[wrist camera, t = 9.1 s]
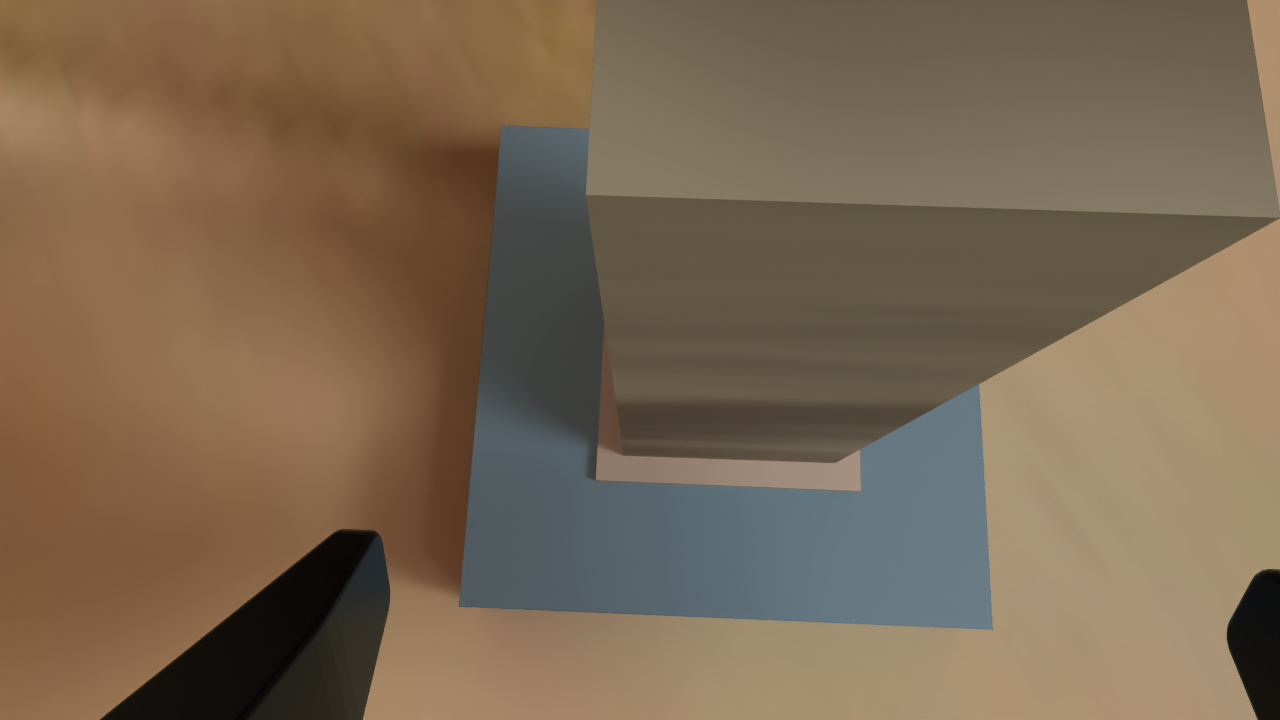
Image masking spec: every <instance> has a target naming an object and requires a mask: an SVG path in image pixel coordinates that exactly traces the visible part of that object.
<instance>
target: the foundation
mask: <svg viewBox="0 0 1280 720" xmlns="http://www.w3.org/2000/svg"><path fill="white" fill-rule="evenodd" d="M588 147H589V129H576V128H550V127H523V126H502V127H501V138H500V149H499V160H498V172H497V183H496V194H495V205H494V217H493V228H492V239H491V250H490V262H489V273H488V284H487V295H486V307H485V318H484V329H483V341H482V352H481V363H480V374H479V386H478V397H477V408H476V419H475V431H474V442H473V453H472V464H471V476H470V487H469V498H468V509H467V521H466V532H465V543H464V554H463V566H462V577H461V588H460V600H459V607H479V608H502V609H525V610H548V611H572V612H595V613H618V614H641V615H664V616H687V617H711V618H734V619H757V620H780V621H803V622H826V623H850V624H873V625H896V626H919V627H942V628H965V629H988V630H993V628H992V610H991V591H990V573H989V555H988V537H987V519H986V501H985V483H984V465H983V447H982V428H981V410H980V392H979V384H978V385H976V386H974V387H973V388H971V389H969V390H967V391H965V392H964V393H962V394H960V395H958V396H956V397H954V398H953V399H951V400H949V401H947V402H945V403H944V404H942V405H940V406H938V407H936V408H935V409H933V410H931V411H929V412H927V413H925V414H924V415H922V416H920V417H918V418H916V419H915V420H913V421H911V422H909V423H907V424H905V425H904V426H902V427H900V428H898V429H896V430H895V431H893V432H891V433H889V434H887V435H886V436H884V437H882V438H880V439H878V440H876V441H875V442H873V443H871V444H869V445H867V446H866V447H864V448H862V449H860V450H858V451H856V452H855V453H853V454H851V455H849V456H847V457H846V458H844V459H842V460H840V461H838V462H837V463H812V462H784V461H756V460H728V459H700V458H672V457H644V456H624V455H623V448H622V441H621V434H620V427H619V420H618V413H617V406H616V399H615V392H614V386H613V379H612V372H611V365H610V358H609V351H608V344H607V337H606V330H605V323H604V317H603V310H602V303H601V296H600V289H599V282H598V275H597V268H596V261H595V254H594V248H593V241H592V234H591V227H590V220H589V213H588V206H587V199H586V183H587V165H588Z"/></svg>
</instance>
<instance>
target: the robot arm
mask: <svg viewBox="0 0 1280 720" xmlns="http://www.w3.org/2000/svg"><path fill="white" fill-rule="evenodd" d="M389 604H390V585H389V579H388V573H387V567H386V561H385V555H384V549H383V543H382V539H381V537H380V535H379V534H378V533H377V532H375V531H373V530H356V529H341V530H338V531H336V532H334V533H333V534H331V535H330V536H329V537H327V538H326V539H325V540H324V541H322V542H321V543H320V544H319V545H317V546H316V547H315V548H314V549H312V550H311V551H310V552H309V553H307V554H306V555H305V556H304V557H302V558H301V559H300V560H299V561H297V562H296V563H295V564H294V565H292V566H291V567H290V568H289V569H287V570H286V571H285V572H284V573H282V574H281V575H280V576H279V577H277V578H276V579H275V580H274V581H272V582H271V583H270V584H269V585H267V586H266V587H265V588H264V589H262V590H261V591H260V592H259V593H257V594H256V595H255V596H254V597H252V598H251V599H250V600H249V601H247V602H246V603H245V604H244V605H242V606H241V607H240V608H239V609H237V610H236V611H235V612H234V613H232V614H231V615H230V616H229V617H227V618H226V619H225V620H224V621H222V622H221V623H220V624H219V625H217V626H216V627H215V628H214V629H212V630H211V631H210V632H209V633H207V634H206V635H205V636H204V637H202V638H201V639H200V640H199V641H197V642H196V643H195V644H194V645H192V646H191V647H190V648H189V649H187V650H186V651H185V652H184V653H182V654H181V655H180V656H179V657H177V658H176V659H175V660H174V661H172V662H171V663H170V664H169V665H167V666H166V667H165V668H164V669H162V670H161V671H160V672H159V673H157V674H156V675H155V676H154V677H152V678H151V679H150V680H149V681H147V682H146V683H145V684H144V685H142V686H141V687H140V688H139V689H137V690H136V691H135V692H134V693H132V694H131V695H130V696H129V697H127V698H126V699H125V700H124V701H122V702H121V703H120V704H119V705H117V706H116V707H115V708H114V709H112V710H111V711H110V712H109V713H107V714H106V715H105V716H104V717H102V718H101V719H100V720H363V716H364V712H365V708H366V703H367V699H368V695H369V691H370V686H371V682H372V678H373V674H374V670H375V665H376V661H377V657H378V653H379V649H380V644H381V640H382V636H383V632H384V627H385V623H386V619H387V615H388V610H389ZM1227 642H1228V647H1229V650H1230V653H1231V655H1232V658H1233V660H1234V663H1235V665H1236V668H1237V670H1238V673H1239V675H1240V678H1241V680H1242V682H1243V685H1244V687H1245V690H1246V692H1247V695H1248V697H1249V700H1250V702H1251V705H1252V707H1253V710H1254V712H1255V714H1256V717H1257V719H1258V720H1280V569H1266V570H1262V571H1261V572H1259V573H1258V574H1256V575H1255V576H1254V577H1253V579H1252V580H1251V582H1250V584H1249V586H1248V588H1247V590H1246V592H1245V593H1244V595H1243V597H1242V599H1241V601H1240V603H1239V604H1238V606H1237V608H1236V610H1235V612H1234V614H1233V616H1232V617H1231V619H1230V621H1229V624H1228V627H1227Z"/></svg>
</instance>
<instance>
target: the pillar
mask: <svg viewBox="0 0 1280 720" xmlns="http://www.w3.org/2000/svg"><path fill="white" fill-rule="evenodd" d="M586 199H587V206H588V213H589V220H590V227H591V234H592V241H593V248H594V254H595V261H596V268H597V275H598V282H599V289H600V296H601V303H602V310H603V317H604V323H605V330H606V337H607V344H608V351H609V358H610V365H611V372H612V379H613V386H614V392H615V399H616V406H617V413H618V420H619V427H620V434H621V441H622V448H623V455H624V456H644V457H672V458H700V459H728V460H756V461H784V462H812V463H837V462H838V461H840V460H842V459H844V458H846V457H847V456H849V455H851V454H853V453H855V452H856V451H858V450H860V449H862V448H864V447H866V446H867V445H869V444H871V443H873V442H875V441H876V440H878V439H880V438H882V437H884V436H886V435H887V434H889V433H891V432H893V431H895V430H896V429H898V428H900V427H902V426H904V425H905V424H907V423H909V422H911V421H913V420H915V419H916V418H918V417H920V416H922V415H924V414H925V413H927V412H929V411H931V410H933V409H935V408H936V407H938V406H940V405H942V404H944V403H945V402H947V401H949V400H951V399H953V398H954V397H956V396H958V395H960V394H962V393H964V392H965V391H967V390H969V389H971V388H973V387H974V386H976V385H978V384H980V383H982V382H984V381H985V380H987V379H989V378H991V377H993V376H994V375H996V374H998V373H1000V372H1002V371H1004V370H1005V369H1007V368H1009V367H1011V366H1013V365H1014V364H1016V363H1018V362H1020V361H1022V360H1023V359H1025V358H1027V357H1029V356H1031V355H1033V354H1034V353H1036V352H1038V351H1040V350H1042V349H1043V348H1045V347H1047V346H1049V345H1051V344H1053V343H1054V342H1056V341H1058V340H1060V339H1062V338H1063V337H1065V336H1067V335H1069V334H1071V333H1072V332H1074V331H1076V330H1078V329H1080V328H1082V327H1083V326H1085V325H1087V324H1089V323H1091V322H1092V321H1094V320H1096V319H1098V318H1100V317H1102V316H1103V315H1105V314H1107V313H1109V312H1111V311H1112V310H1114V309H1116V308H1118V307H1120V306H1121V305H1123V304H1125V303H1127V302H1129V301H1131V300H1132V299H1134V298H1136V297H1138V296H1140V295H1141V294H1143V293H1145V292H1147V291H1149V290H1151V289H1152V288H1154V287H1156V286H1158V285H1160V284H1161V283H1163V282H1165V281H1167V280H1169V279H1170V278H1172V277H1174V276H1176V275H1178V274H1180V273H1181V272H1183V271H1185V270H1187V269H1189V268H1190V267H1192V266H1194V265H1196V264H1198V263H1200V262H1201V261H1203V260H1205V259H1207V258H1209V257H1210V256H1212V255H1214V254H1216V253H1218V252H1219V251H1221V250H1223V249H1225V248H1227V247H1229V246H1230V245H1232V244H1234V243H1236V242H1238V241H1239V240H1241V239H1243V238H1245V237H1247V236H1249V235H1250V234H1252V233H1254V232H1256V231H1258V230H1259V229H1261V228H1263V227H1265V226H1267V225H1268V224H1270V223H1272V222H1274V221H1276V220H1278V219H1279V218H1280V211H1279V204H1278V198H1277V191H1276V185H1275V179H1274V172H1273V166H1272V159H1271V153H1270V146H1269V140H1268V133H1267V127H1266V121H1265V114H1264V108H1263V101H1262V95H1261V88H1260V82H1259V75H1258V69H1257V63H1256V56H1255V50H1254V43H1253V37H1252V30H1251V24H1250V17H1249V11H1248V5H1247V0H597V2H596V21H595V39H594V57H593V75H592V93H591V111H590V129H589V147H588V165H587V183H586Z"/></svg>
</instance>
